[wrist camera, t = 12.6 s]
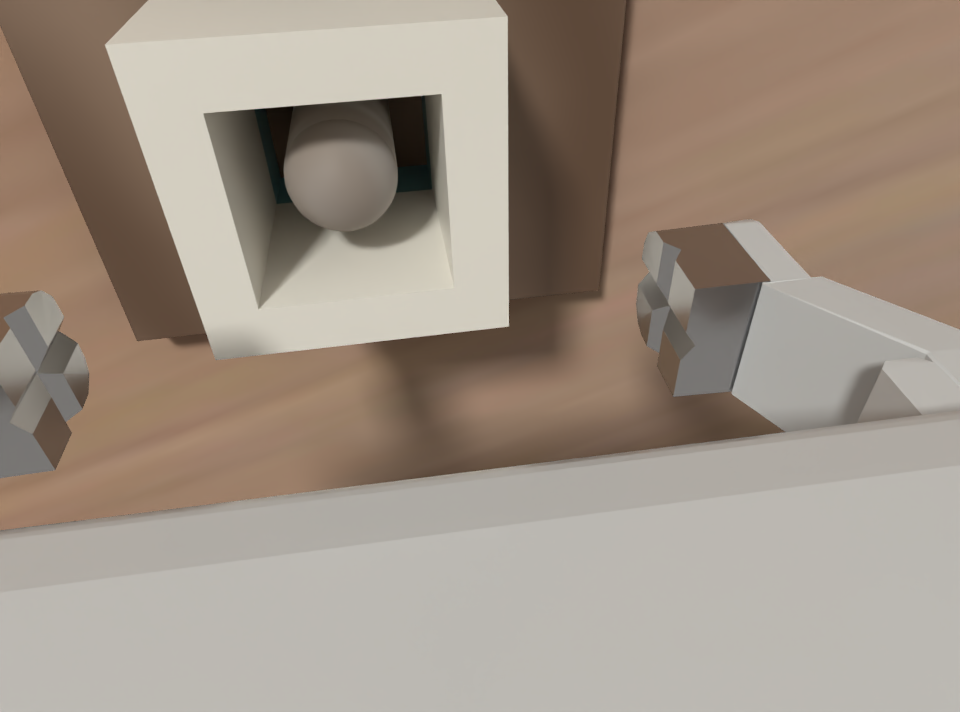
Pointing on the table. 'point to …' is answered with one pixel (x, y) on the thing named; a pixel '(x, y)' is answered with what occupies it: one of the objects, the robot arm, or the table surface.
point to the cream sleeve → (262, 192)
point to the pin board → (336, 148)
